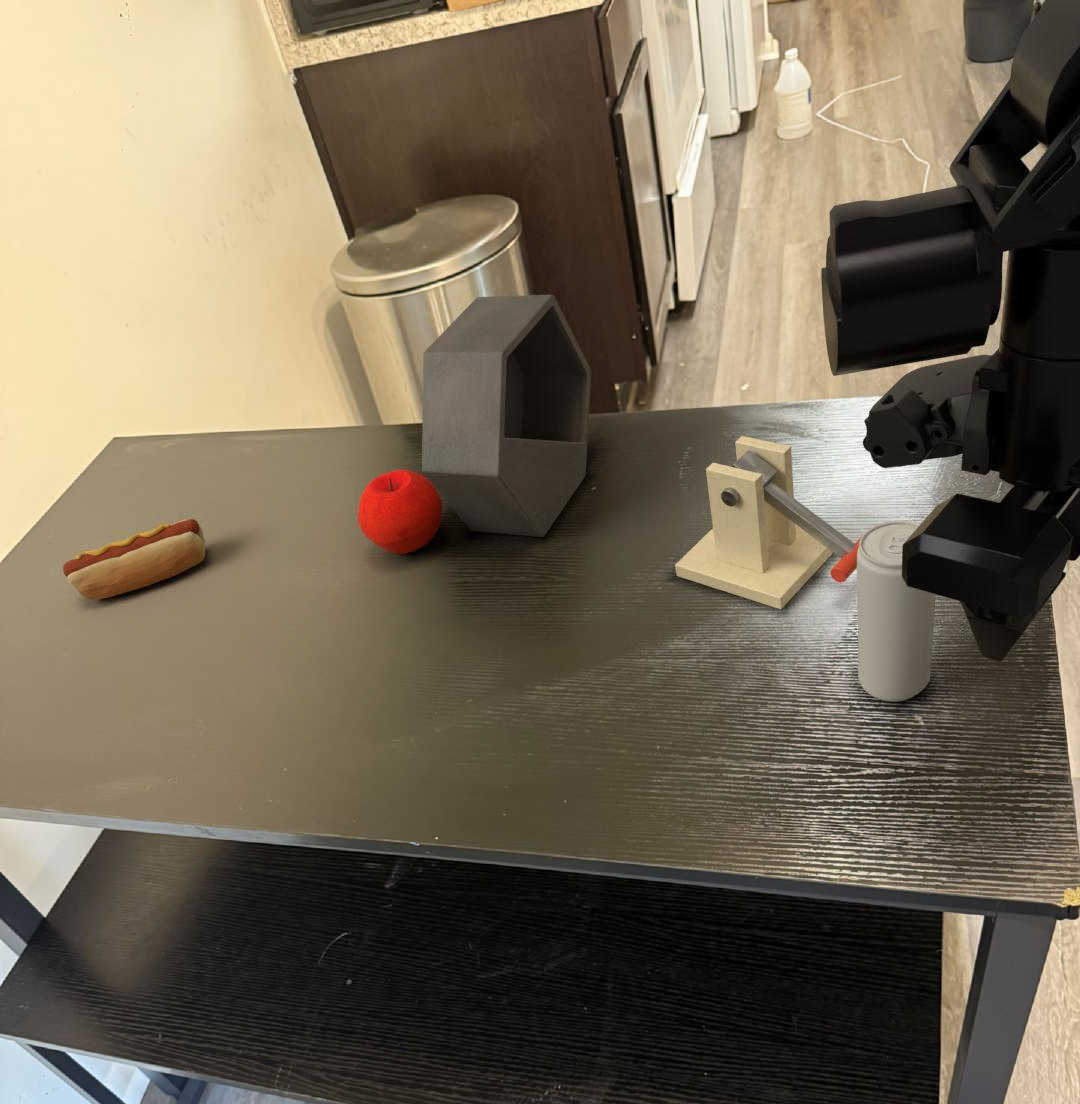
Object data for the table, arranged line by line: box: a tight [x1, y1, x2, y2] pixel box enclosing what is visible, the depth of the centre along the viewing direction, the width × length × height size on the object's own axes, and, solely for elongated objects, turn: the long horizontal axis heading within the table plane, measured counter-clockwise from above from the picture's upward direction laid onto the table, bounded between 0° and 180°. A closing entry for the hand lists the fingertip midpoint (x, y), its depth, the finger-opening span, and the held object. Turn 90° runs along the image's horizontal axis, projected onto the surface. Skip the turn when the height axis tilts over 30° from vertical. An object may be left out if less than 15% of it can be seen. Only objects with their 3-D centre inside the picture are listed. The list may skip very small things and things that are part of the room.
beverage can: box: [856, 520, 937, 703], centre depth 66 cm, size 5×5×12 cm
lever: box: [731, 450, 863, 583], centre depth 77 cm, size 12×5×2 cm, turn 49°
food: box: [62, 518, 207, 601], centre depth 101 cm, size 14×6×5 cm, turn 106°
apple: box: [357, 469, 443, 555], centre depth 94 cm, size 8×8×7 cm
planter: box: [421, 294, 592, 538], centre depth 91 cm, size 17×8×21 cm
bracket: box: [674, 435, 834, 610], centre depth 80 cm, size 10×9×10 cm
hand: (1031, 605), depth 54 cm, fingers open, 9 cm apart
